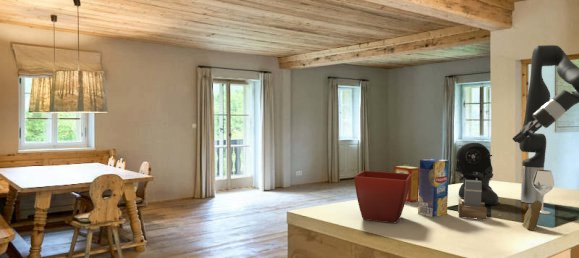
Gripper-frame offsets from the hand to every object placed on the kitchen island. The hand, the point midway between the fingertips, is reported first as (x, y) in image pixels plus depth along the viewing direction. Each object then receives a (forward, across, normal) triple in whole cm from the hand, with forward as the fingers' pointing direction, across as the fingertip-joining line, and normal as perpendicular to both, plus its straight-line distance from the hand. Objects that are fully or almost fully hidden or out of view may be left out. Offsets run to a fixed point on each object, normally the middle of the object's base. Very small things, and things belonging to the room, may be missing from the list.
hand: (515, 141), depth 180 cm
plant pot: (+56, +28, -12) cm, 64 cm away
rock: (+20, +18, +24) cm, 36 cm away
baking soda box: (+53, -17, -9) cm, 56 cm away
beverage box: (+44, +10, 0) cm, 45 cm away
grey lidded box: (+30, +6, +9) cm, 32 cm away
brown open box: (+33, +6, +11) cm, 35 cm away
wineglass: (+12, -15, +31) cm, 37 cm away
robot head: (+31, -34, +13) cm, 48 cm away
